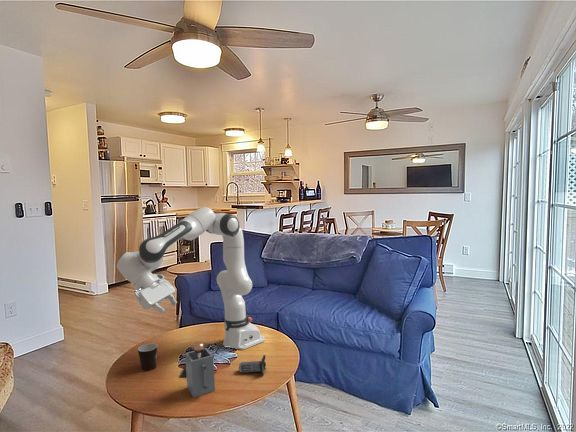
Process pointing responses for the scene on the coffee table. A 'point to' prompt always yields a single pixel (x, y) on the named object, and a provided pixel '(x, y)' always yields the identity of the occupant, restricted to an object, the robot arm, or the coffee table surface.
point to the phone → (183, 373)
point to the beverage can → (253, 366)
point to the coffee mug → (148, 356)
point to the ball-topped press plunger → (198, 348)
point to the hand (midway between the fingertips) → (169, 308)
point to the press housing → (200, 373)
